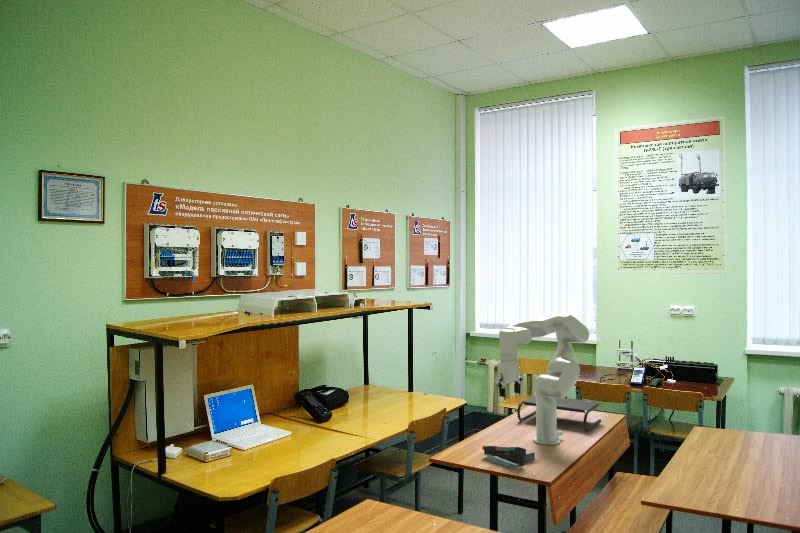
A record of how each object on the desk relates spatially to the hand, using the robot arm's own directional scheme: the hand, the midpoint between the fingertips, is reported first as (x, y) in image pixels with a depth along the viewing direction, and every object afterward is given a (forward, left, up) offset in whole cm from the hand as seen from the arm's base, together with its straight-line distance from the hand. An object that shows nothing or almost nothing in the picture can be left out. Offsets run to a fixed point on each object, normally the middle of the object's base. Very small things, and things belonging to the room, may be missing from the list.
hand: (509, 394), depth 259 cm
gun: (+14, +9, -25) cm, 30 cm away
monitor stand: (-58, -21, -26) cm, 67 cm away
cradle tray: (+13, +9, -26) cm, 30 cm away
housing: (+3, +10, -26) cm, 28 cm away
